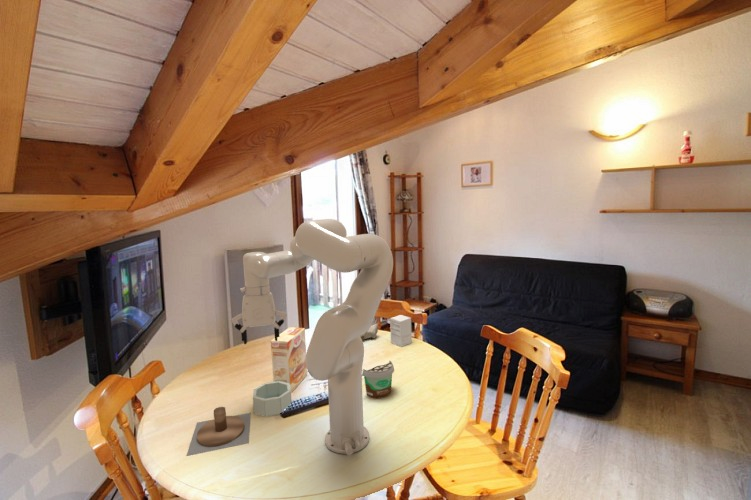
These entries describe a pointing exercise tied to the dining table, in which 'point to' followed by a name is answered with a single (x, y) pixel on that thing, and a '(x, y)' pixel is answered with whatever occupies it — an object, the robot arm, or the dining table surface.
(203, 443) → the lid
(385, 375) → the food container
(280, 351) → the coffeecake box
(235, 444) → the mat
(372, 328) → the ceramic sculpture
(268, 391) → the bowl
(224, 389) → the dining table surface
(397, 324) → the white mini drawer cabinet
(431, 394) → the dining table surface
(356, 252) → the robot arm
